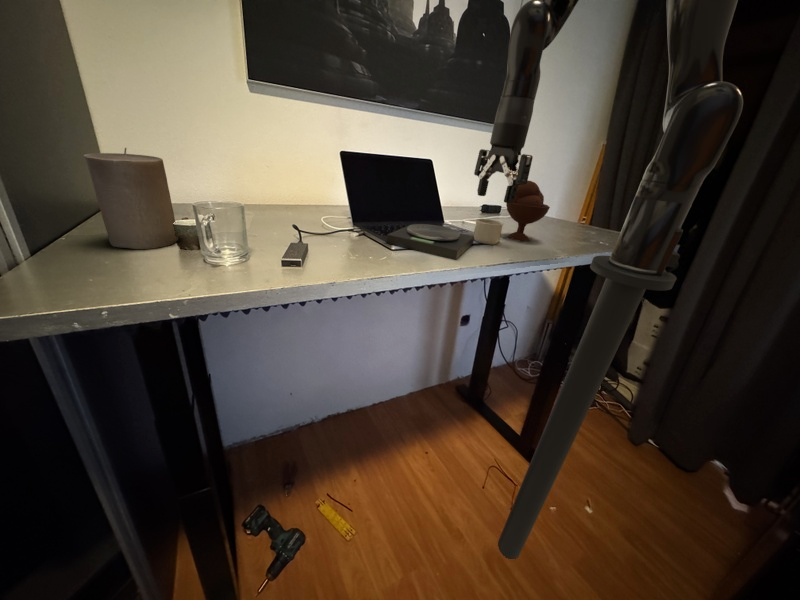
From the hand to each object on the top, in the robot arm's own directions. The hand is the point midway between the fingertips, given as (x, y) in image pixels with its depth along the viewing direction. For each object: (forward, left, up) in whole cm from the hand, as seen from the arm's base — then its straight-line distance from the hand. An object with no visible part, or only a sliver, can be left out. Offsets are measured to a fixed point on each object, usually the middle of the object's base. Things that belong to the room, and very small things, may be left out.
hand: (493, 199), depth 78 cm
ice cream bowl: (-7, -11, -11) cm, 17 cm away
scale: (+10, +13, -10) cm, 19 cm away
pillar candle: (+50, +51, -11) cm, 72 cm away
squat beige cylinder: (0, 0, -10) cm, 10 cm away
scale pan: (+10, +13, -8) cm, 18 cm away
